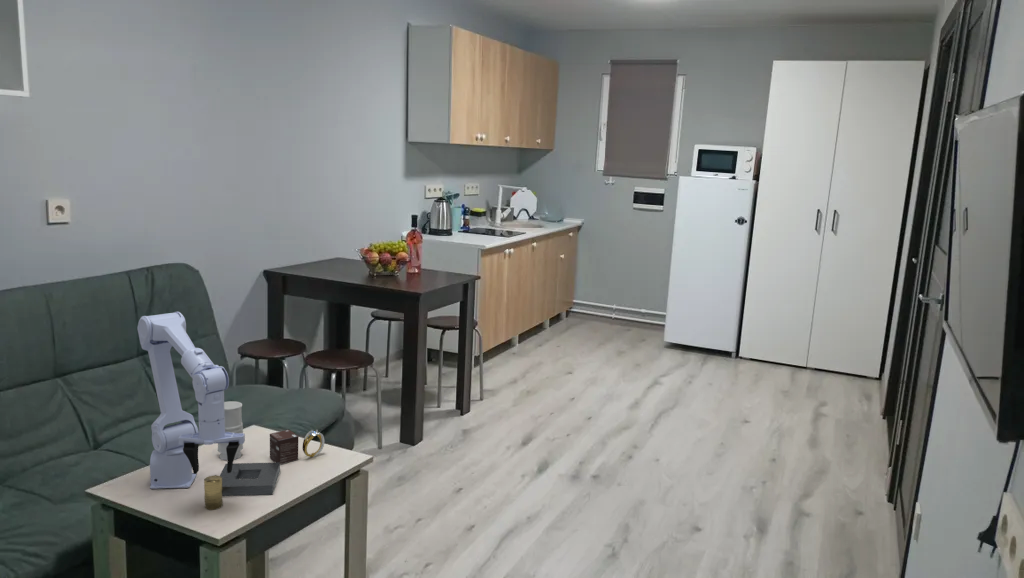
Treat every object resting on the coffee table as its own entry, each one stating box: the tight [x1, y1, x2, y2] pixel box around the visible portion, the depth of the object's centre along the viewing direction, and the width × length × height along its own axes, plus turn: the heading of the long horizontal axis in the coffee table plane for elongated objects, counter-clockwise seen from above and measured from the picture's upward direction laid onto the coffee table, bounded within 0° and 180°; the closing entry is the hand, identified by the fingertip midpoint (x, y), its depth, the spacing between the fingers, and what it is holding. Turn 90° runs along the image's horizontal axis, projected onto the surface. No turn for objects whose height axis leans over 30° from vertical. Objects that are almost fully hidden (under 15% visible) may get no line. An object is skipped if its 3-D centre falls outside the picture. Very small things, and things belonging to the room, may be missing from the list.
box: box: [269, 429, 300, 465], centre depth 202 cm, size 6×6×7 cm
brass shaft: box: [203, 475, 224, 511], centre depth 174 cm, size 4×4×7 cm
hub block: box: [219, 461, 281, 497], centre depth 187 cm, size 14×14×2 cm
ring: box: [302, 429, 325, 458], centre depth 205 cm, size 7×3×8 cm, turn 140°
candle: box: [217, 400, 244, 461], centre depth 202 cm, size 7×7×15 cm
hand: (213, 471), depth 173 cm, fingers open, 7 cm apart
